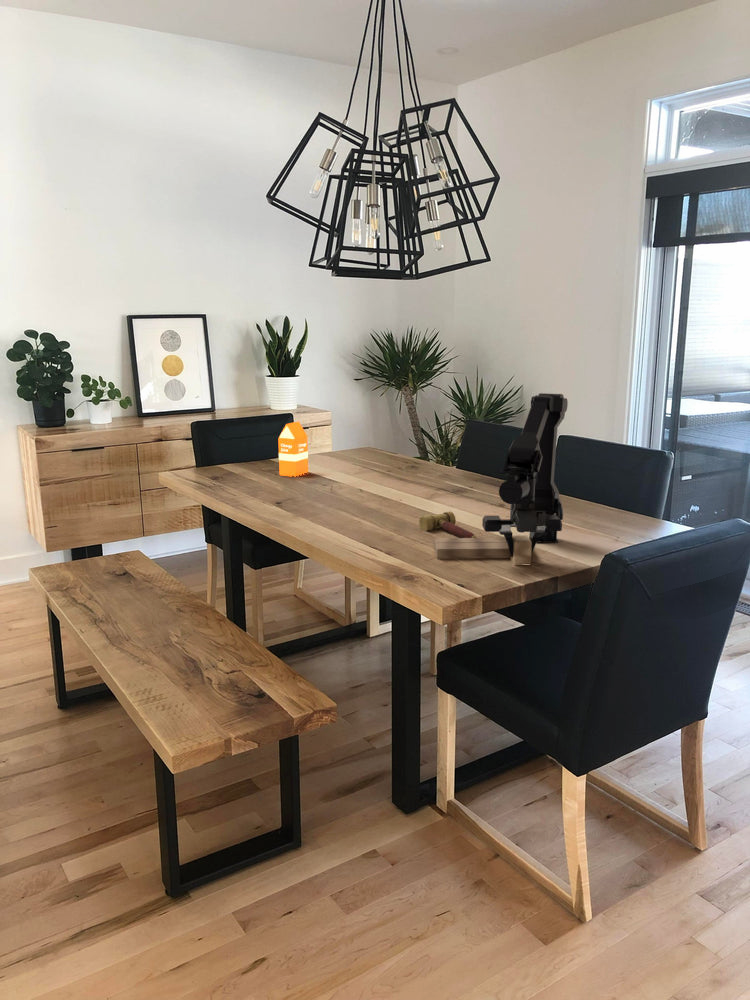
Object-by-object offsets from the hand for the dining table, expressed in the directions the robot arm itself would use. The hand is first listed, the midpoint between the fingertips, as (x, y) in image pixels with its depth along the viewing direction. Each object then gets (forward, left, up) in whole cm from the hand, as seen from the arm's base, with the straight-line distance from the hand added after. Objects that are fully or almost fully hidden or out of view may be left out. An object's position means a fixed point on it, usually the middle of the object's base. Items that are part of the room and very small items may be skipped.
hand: (520, 556), depth 201 cm
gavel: (+14, -26, -2) cm, 30 cm away
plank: (+8, -8, -1) cm, 12 cm away
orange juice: (+67, -116, -2) cm, 134 cm away
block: (0, -3, -1) cm, 3 cm away
